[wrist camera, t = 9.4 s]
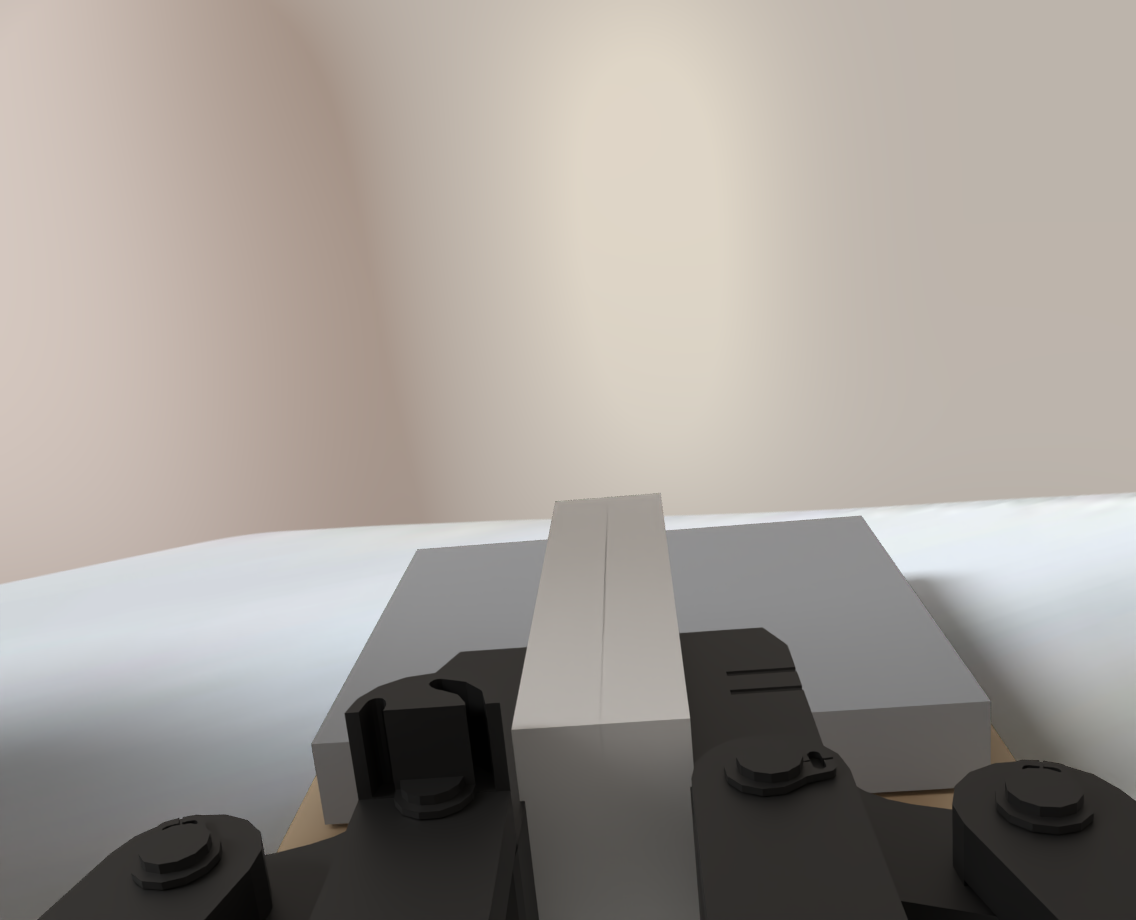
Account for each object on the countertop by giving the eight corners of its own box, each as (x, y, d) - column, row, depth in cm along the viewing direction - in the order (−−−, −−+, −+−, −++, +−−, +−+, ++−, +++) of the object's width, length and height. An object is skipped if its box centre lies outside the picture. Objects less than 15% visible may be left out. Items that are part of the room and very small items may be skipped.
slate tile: (311, 744, 26) (417, 549, 40) (326, 829, 27) (425, 609, 40) (990, 701, 25) (861, 515, 38) (990, 792, 26) (863, 577, 39)
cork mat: (227, 971, 23) (223, 955, 23) (398, 625, 40) (397, 614, 40) (1116, 929, 21) (1116, 911, 21) (894, 590, 39) (894, 579, 39)
